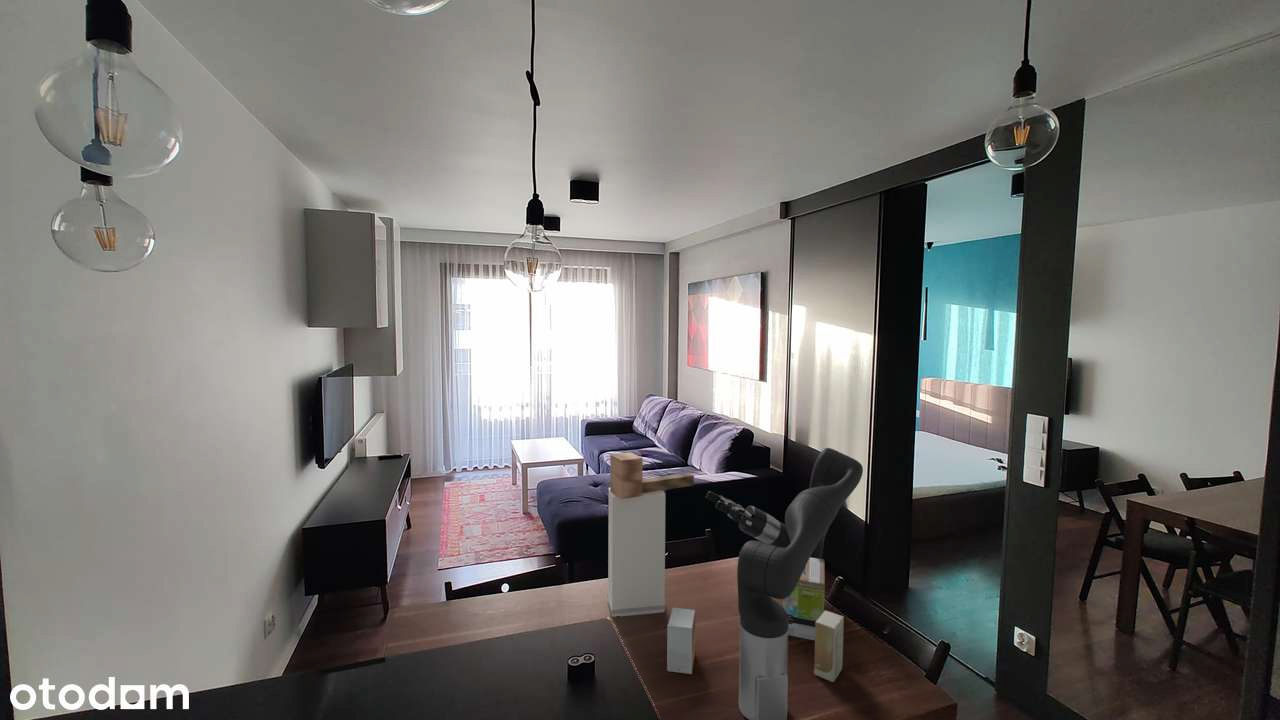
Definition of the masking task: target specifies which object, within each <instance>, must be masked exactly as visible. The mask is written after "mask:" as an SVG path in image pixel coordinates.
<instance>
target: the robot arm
mask: <svg viewBox="0 0 1280 720" xmlns="http://www.w3.org/2000/svg"><path fill="white" fill-rule="evenodd" d="M863 472H864V469H863V465H862V464H861V463H860V462H859V461H858V460H857V459H855V458H853V457H851V456H849V455H847V454H844V453H843V452H841V451H838V450H837V449H834V448H831V447H826V448H824V449H822V450H821V452H820V453H819V454H818V456H817V457H816V460H815V462H814V463H813V468H812V471H811V476H810V481H809V488H807V489H804V490H802V491H801V492H799V493H798V494H797V495H796V496H795V498H794V499H793V500H792V502H791V503H790V504H789V505H788V506H787V509H786V510H785V514H784V523H783V522H781V521H779V520H777V519H776V518H775V517H774V516H772V515H770V514H769V513H767V512H765V511H763V510H761V509H759V508H758V507H756V506H754V505H748V506H747V507H745V508H744V507H743V506H742V505H740V504H739V503H738V504H737V503H736V502H734V501H732V500H731V499H728V498H726V497H724V496H723V495H722V494H719V495H718V494H716V493H714V492H713V491H707V493H706V495H705V498H706V500H708V501H710V502H712V503H714V504H715V506H714V507H715V509H716V510H718V511H720V512H722V513H724V514H725V515H726V516H728V517H729V518H730V519H732V521H735V522H736V523H738V528H739V530H740V531H741V532H743V533H745V534H747V535H748V536H751V537H753V538H754V539H757V540H749V541H747V542H745V543H744V544H743V546H742V547H741V549H740V552H739V554H738V559H737V568H736V569H737V571H736V576H737V577H736V578H737V579H736V581H737V603H738V604H737V607H738V608H737V610H738V613H739V617H740V618H739V623H740V624H739V657H738V658H739V659H738V660H739V661H738V663H739V666H738V667H739V668H738V669H739V672H738V708H739V710H740V713H741V714H742V715H743V716H744V717H745V718H746V719H748V720H788V693H789V691H788V688H789V686H788V685H789V684H788V683H789V677H788V655H789V654H788V650H789V649H788V648H789V635H788V615H787V612H786V611H785V609H784V608H783V607H782V605H780V604H779V603H778V602H777V601H776V600H775V599H777V600H783V599H785V598H787V597H788V596H790V595H791V593H792V592H793V591H794V589H795V587H796V585H797V583H798V581H799V579H800V577H801V575H802V573H803V571H804V569H805V566H806V564H807V562H808V560H809V558H810V557H811V558H818V559H823V558H822V557H823V553H824V552H823V551H824V543H825V538H826V535H827V533H828V530H829V528H830V526H831V525H832V523H833V522H834V520H835V518H836V516H837V515H838V512H839V511H840V509H841V507H842V506H843V504H844V503H845V502H846V500H847V499H848V498H849V497H850V496H851V494H853V492H854V490H855V489H857V486H858V485H859V483H860V482H861V479H862V477H863V474H864V473H863Z"/></svg>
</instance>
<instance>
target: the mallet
mask: <svg viewBox="0 0 1280 720" xmlns="http://www.w3.org/2000/svg"><path fill="white" fill-rule="evenodd" d="M609 455H610V465H609V467H610V471H609V473H610V475H609V476H610V480H609V483H610V484H609V485H610V487H609V488H610V492H612V493H613V494H614V495H616V496H617V497H619V498H620V499H626V498H633V497H639V496H642V493H647V492H654V491H661V490H663V491H666V490H673V489H678V488H685V487H692V486H695V475H694V474H692V473H690V472H684V473H678V474H671V475H663V476H657V477H656V476H655V477H648V478H643V464H644V463H643V459H644V458H643V457H642V456H640V455H637V454H635V453H633V452H632V451H630V452H629V451H628V452H621V453H619V452H618V453H612V454H611V453H610V454H609Z"/></svg>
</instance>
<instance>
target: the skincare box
mask: <svg viewBox="0 0 1280 720" xmlns="http://www.w3.org/2000/svg"><path fill="white" fill-rule="evenodd" d="M844 622H845V621H844V616H843V615H840V614H837V613H835V612H832V611H829V610H825V609H824V612H823V613H822V614H821V615H820V616H819V618H818V619H817V620H816V622H815V640H814V661H813V662H814V663H813V664H814V666H813V669H814V670H813V674H814V675H815V676H818V677H820V678H822V679H824V680H826V681H829V682H831V683H834V682H835V681H836V680H837V678H838V676H839V674H840V672H842V669H843V661H844V659H843V657H844V656H843V652H844Z"/></svg>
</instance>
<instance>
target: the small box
mask: <svg viewBox="0 0 1280 720" xmlns="http://www.w3.org/2000/svg"><path fill="white" fill-rule="evenodd" d="M666 628H667V629H666V633H667V634H666V637H667V639H666V640H667V641H666V642H667V643H666V645H667V647H666V650H667V651H666V654H667V655H666V663H667V664H666V668H667V669H666V671H667V672H670V673H671V672H672V673H679V674H680V673H681V674H689V675H693V667H694V661H695V654H696V610H695V609H689V608H688V609H687V608H679V607H671V612H670V616H669V620H668V623H667V627H666Z"/></svg>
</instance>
